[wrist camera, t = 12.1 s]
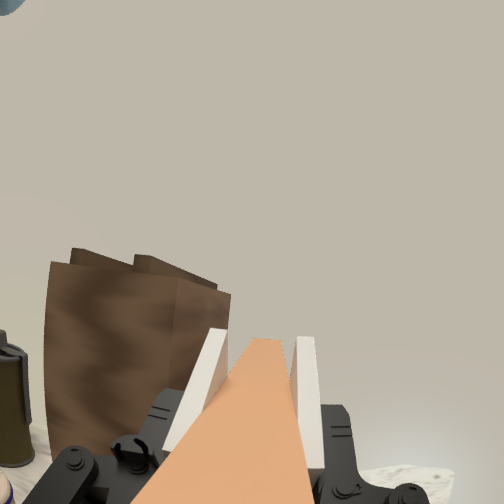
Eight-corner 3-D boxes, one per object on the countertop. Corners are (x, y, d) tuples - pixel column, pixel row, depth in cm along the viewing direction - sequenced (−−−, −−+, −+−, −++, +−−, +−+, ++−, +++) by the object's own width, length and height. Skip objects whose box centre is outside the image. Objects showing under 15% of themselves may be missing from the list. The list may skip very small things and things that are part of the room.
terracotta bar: (145, 585, 3) (130, 503, 3) (251, 364, 32) (253, 337, 33) (289, 607, 2) (319, 530, 3) (278, 366, 32) (280, 340, 32)
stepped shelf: (86, 571, 11) (53, 245, 16) (151, 490, 31) (159, 278, 36) (278, 616, 9) (355, 273, 15) (279, 511, 29) (309, 292, 34)
